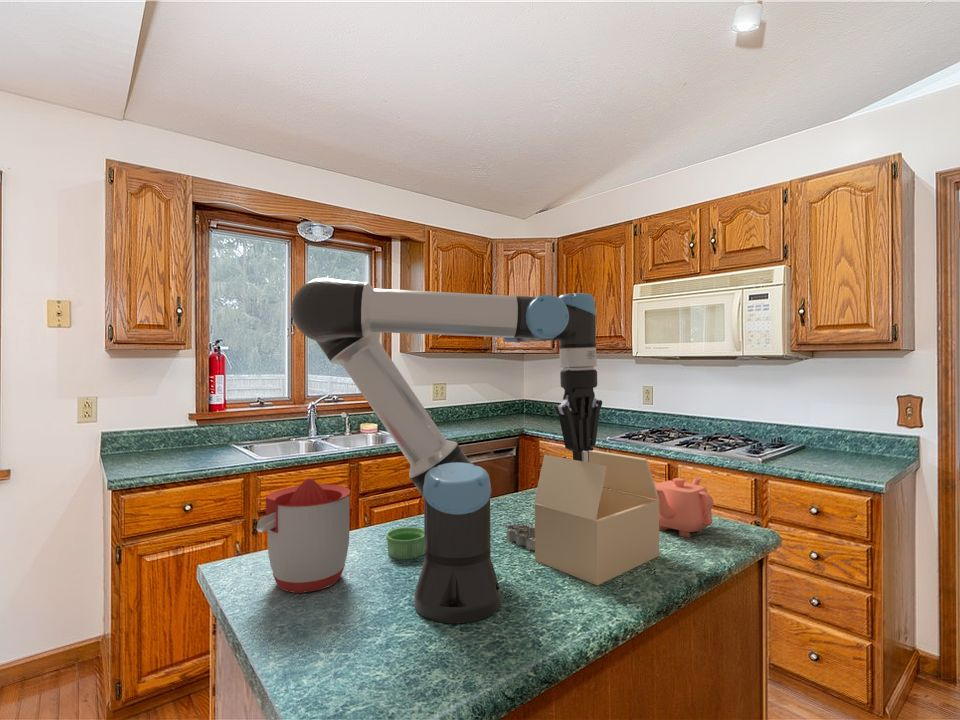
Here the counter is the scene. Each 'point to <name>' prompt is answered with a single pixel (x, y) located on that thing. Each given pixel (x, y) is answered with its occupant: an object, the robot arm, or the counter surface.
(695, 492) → the teapot
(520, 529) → the egg carton
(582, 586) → the counter surface
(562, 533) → the carton
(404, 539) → the ramekin
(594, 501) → the near flap
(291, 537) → the citrus juicer
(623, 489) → the far flap
